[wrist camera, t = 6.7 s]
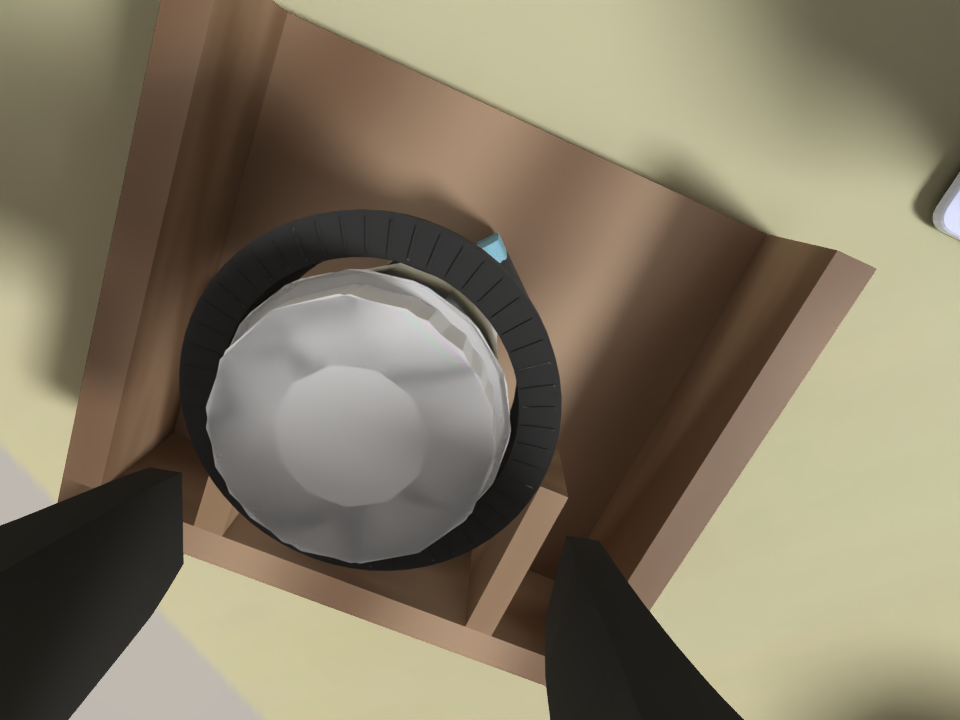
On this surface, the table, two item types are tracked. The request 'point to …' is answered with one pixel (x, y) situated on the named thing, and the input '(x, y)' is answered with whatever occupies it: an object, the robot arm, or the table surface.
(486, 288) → the push button
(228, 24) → the walled box
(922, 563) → the table surface
